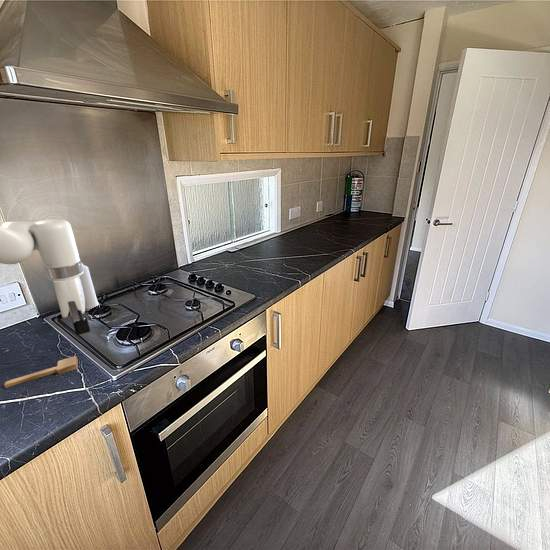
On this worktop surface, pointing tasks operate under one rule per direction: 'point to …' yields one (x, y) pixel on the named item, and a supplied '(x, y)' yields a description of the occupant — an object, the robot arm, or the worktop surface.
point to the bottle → (88, 289)
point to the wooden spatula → (47, 371)
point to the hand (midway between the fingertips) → (83, 332)
